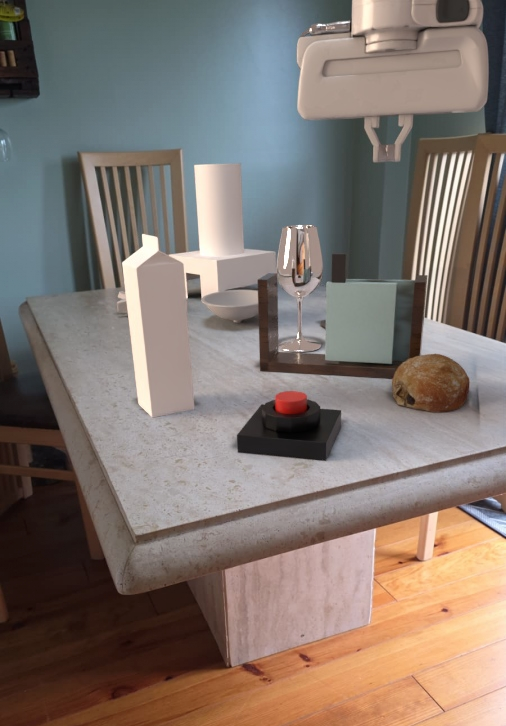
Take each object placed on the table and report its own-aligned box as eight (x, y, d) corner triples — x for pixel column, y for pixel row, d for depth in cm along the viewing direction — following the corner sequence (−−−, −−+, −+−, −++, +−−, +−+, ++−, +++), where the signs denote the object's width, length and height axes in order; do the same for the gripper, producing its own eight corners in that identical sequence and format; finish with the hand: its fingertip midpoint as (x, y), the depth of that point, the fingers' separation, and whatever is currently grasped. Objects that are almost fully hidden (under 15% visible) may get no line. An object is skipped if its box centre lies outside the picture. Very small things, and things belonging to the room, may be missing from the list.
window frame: (419, 368, 96) (427, 275, 90) (417, 380, 91) (425, 282, 85) (269, 360, 102) (268, 273, 97) (259, 371, 97) (257, 279, 91)
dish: (205, 313, 137) (203, 290, 135) (270, 311, 137) (270, 288, 135) (200, 333, 121) (198, 307, 119) (274, 330, 121) (273, 304, 119)
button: (309, 406, 72) (309, 391, 71) (303, 417, 69) (303, 402, 68) (279, 404, 73) (279, 389, 72) (271, 414, 70) (271, 400, 69)
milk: (179, 397, 87) (165, 231, 78) (195, 410, 82) (183, 235, 74) (137, 404, 85) (118, 235, 76) (151, 418, 80) (133, 238, 71)
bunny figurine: (118, 302, 130) (112, 283, 143) (120, 326, 133) (115, 305, 145) (162, 299, 133) (153, 280, 145) (164, 322, 135) (155, 301, 148)
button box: (340, 426, 75) (341, 395, 74) (325, 461, 67) (326, 427, 65) (261, 420, 78) (261, 390, 77) (237, 453, 70) (235, 419, 68)
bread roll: (383, 421, 86) (370, 376, 81) (424, 375, 90) (414, 330, 85) (446, 440, 79) (436, 393, 74) (487, 390, 83) (481, 342, 78)
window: (392, 362, 93) (399, 253, 86) (391, 363, 92) (398, 254, 86) (326, 358, 96) (328, 253, 89) (325, 360, 95) (326, 253, 88)
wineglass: (268, 347, 109) (265, 227, 101) (297, 338, 114) (297, 223, 106) (302, 355, 104) (302, 229, 96) (331, 345, 109) (333, 225, 101)
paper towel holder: (219, 304, 146) (211, 163, 133) (172, 295, 158) (161, 166, 146) (276, 292, 157) (274, 162, 144) (228, 285, 170) (222, 164, 157)
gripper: (290, 19, 65) (290, 165, 71) (498, -2, 59) (481, 158, 65) (303, 30, 70) (302, 165, 76) (495, 12, 65) (479, 158, 70)
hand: (386, 162), depth 70 cm, fingers closed
